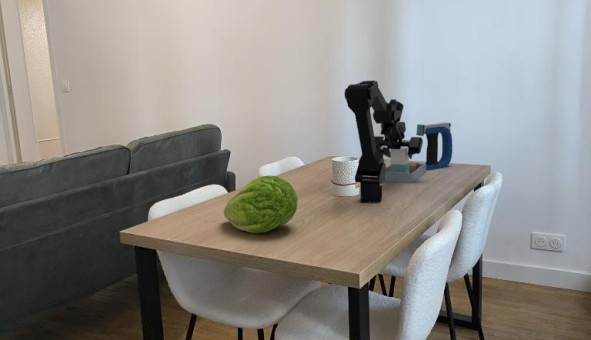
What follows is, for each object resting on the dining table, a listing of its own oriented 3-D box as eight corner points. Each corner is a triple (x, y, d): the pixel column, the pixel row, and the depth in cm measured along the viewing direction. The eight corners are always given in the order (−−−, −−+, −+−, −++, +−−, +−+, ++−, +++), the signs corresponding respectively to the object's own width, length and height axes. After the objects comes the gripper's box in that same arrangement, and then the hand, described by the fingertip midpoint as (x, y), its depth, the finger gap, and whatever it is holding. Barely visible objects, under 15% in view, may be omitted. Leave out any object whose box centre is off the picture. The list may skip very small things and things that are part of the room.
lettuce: (213, 243, 143) (252, 232, 155) (276, 230, 127) (314, 219, 139) (201, 192, 144) (241, 185, 156) (263, 172, 128) (302, 167, 141)
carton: (405, 180, 190) (404, 148, 188) (390, 179, 193) (390, 148, 190) (409, 177, 195) (409, 146, 192) (395, 176, 198) (394, 145, 195)
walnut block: (414, 175, 197) (414, 165, 196) (394, 174, 201) (394, 164, 200) (419, 172, 202) (418, 162, 201) (399, 171, 206) (399, 161, 205)
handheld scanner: (415, 170, 209) (415, 124, 205) (445, 166, 215) (446, 120, 211) (422, 172, 205) (422, 125, 201) (452, 167, 211) (453, 121, 207)
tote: (412, 184, 185) (412, 173, 184) (378, 182, 191) (378, 171, 191) (426, 173, 202) (426, 163, 202) (394, 171, 209) (394, 162, 208)
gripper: (421, 115, 181) (429, 141, 193) (372, 115, 190) (382, 140, 202) (415, 140, 176) (423, 165, 188) (365, 138, 185) (375, 163, 196)
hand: (401, 157), depth 193 cm, fingers open, 8 cm apart
